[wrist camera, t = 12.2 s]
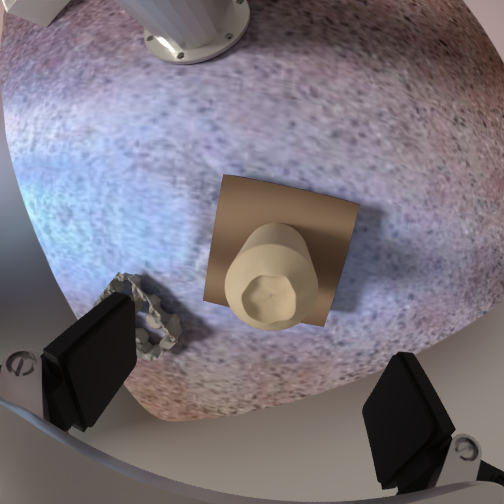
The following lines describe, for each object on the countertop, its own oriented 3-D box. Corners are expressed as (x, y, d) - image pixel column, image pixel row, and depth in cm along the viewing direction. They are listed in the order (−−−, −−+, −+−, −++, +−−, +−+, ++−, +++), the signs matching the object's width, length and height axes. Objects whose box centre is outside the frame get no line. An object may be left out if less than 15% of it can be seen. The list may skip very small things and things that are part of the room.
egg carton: (192, 326, 32) (181, 344, 28) (157, 353, 34) (145, 370, 30) (132, 261, 31) (114, 272, 27) (104, 295, 33) (86, 308, 29)
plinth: (231, 175, 27) (223, 174, 23) (349, 201, 26) (359, 204, 22) (212, 285, 30) (202, 300, 26) (319, 309, 29) (323, 326, 25)
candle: (271, 209, 23) (261, 228, 14) (320, 249, 24) (342, 294, 14) (232, 257, 25) (200, 304, 15) (279, 294, 25) (275, 359, 15)
